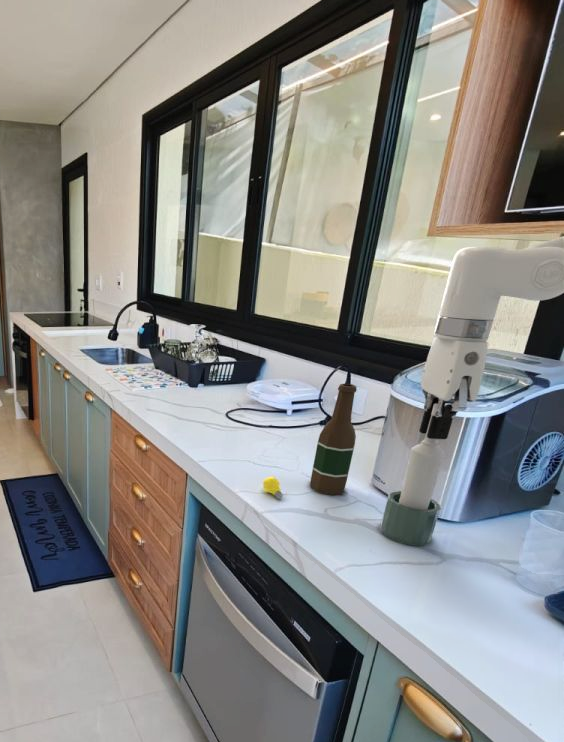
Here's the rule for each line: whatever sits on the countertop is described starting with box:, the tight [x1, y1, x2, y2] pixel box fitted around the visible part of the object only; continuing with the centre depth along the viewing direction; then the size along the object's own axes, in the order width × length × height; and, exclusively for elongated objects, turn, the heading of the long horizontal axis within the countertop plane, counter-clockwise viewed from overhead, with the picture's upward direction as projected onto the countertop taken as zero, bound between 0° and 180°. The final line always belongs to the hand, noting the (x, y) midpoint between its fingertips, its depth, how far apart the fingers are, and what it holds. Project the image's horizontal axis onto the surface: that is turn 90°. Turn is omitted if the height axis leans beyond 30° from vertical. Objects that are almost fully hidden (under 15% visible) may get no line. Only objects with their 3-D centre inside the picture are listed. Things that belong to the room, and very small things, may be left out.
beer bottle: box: [309, 383, 357, 496], centre depth 110 cm, size 8×8×24 cm
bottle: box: [399, 403, 447, 510], centre depth 91 cm, size 5×5×25 cm
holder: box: [380, 490, 441, 547], centre depth 95 cm, size 8×8×7 cm
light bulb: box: [262, 476, 284, 500], centre depth 110 cm, size 3×6×4 cm, turn 17°
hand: (432, 435), depth 89 cm, fingers closed on bottle, 2 cm apart
